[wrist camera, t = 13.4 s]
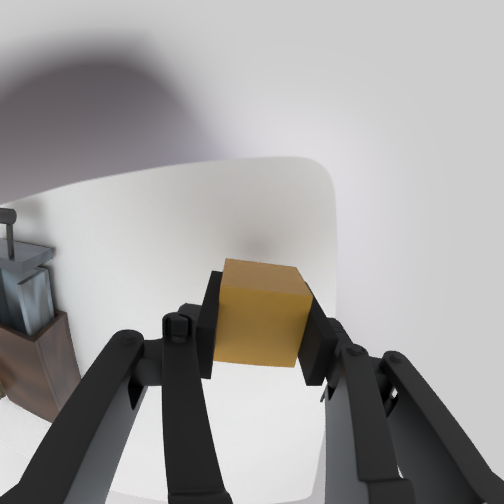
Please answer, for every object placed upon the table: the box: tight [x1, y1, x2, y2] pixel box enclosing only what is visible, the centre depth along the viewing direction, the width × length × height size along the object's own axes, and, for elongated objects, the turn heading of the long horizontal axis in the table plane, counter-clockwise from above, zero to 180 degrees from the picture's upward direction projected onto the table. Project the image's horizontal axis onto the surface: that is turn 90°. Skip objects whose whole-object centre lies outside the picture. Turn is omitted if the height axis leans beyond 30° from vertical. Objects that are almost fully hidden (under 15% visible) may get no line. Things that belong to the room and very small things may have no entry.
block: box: [213, 258, 313, 367], centre depth 15 cm, size 4×4×4 cm
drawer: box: [0, 208, 55, 338], centre depth 22 cm, size 20×11×6 cm, turn 172°
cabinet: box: [0, 309, 81, 424], centre depth 25 cm, size 16×13×8 cm
